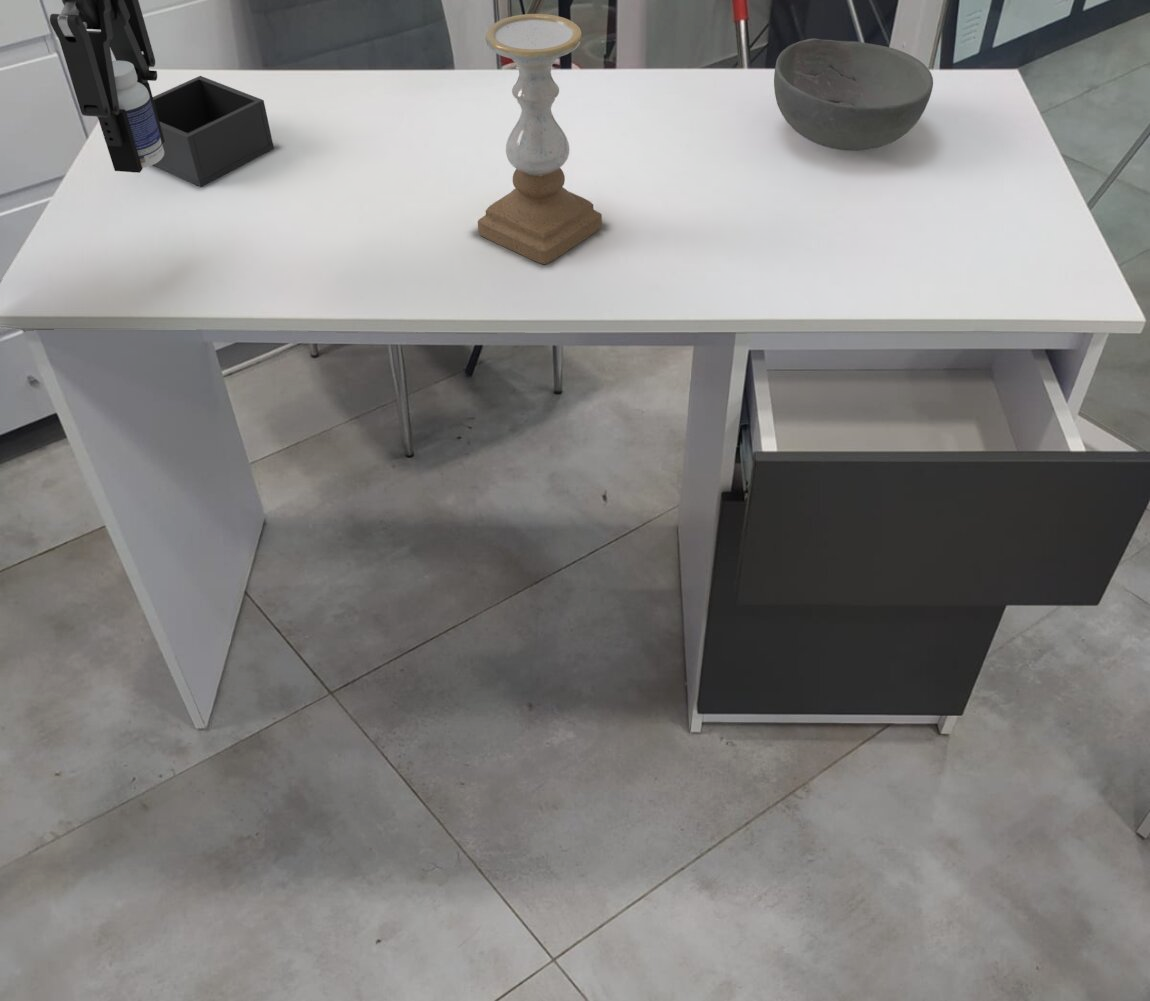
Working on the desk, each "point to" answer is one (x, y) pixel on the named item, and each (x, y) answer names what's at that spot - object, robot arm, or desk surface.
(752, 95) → the desk surface
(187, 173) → the basket
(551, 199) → the candle holder
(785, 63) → the bowl
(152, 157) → the pill bottle
